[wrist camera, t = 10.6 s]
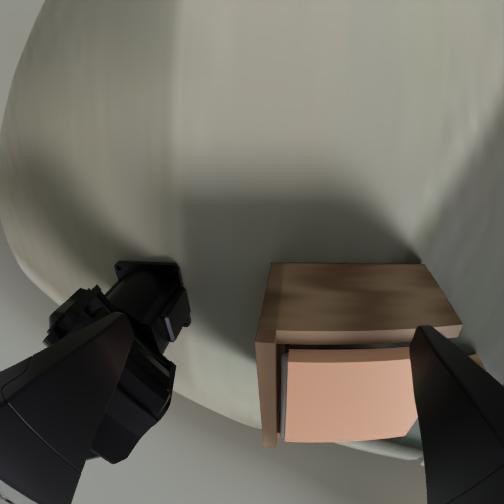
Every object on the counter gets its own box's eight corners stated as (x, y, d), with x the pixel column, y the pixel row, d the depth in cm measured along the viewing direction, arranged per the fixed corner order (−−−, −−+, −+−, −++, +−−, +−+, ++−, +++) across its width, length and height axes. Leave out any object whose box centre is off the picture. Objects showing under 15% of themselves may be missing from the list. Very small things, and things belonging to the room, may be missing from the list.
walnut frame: (274, 374, 27) (263, 446, 20) (271, 263, 22) (254, 342, 14) (391, 373, 25) (404, 442, 18) (424, 264, 20) (468, 335, 12)
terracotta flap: (280, 431, 20) (279, 441, 19) (282, 348, 15) (280, 361, 15) (403, 426, 18) (404, 435, 17) (448, 342, 14) (454, 353, 13)
